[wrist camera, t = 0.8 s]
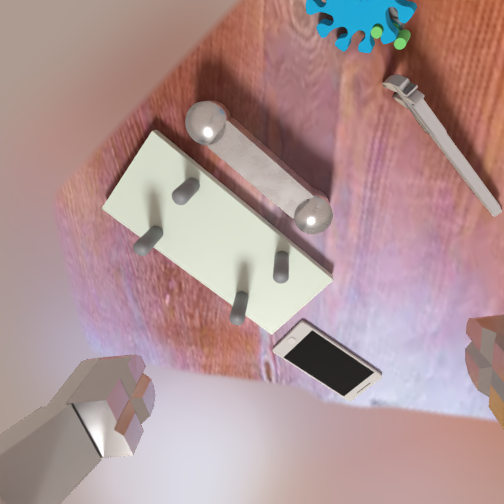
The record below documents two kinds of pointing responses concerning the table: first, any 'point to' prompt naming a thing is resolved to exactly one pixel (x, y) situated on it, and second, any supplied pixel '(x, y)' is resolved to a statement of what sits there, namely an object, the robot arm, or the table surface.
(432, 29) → the table surface
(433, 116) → the caliper
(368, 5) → the gear
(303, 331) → the smartphone
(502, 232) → the table surface
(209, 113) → the grey dumbbell
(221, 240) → the board
